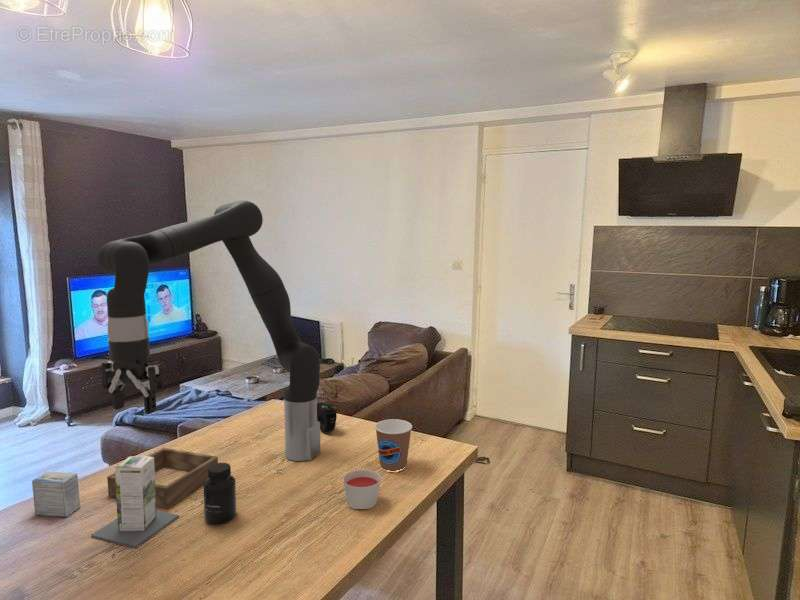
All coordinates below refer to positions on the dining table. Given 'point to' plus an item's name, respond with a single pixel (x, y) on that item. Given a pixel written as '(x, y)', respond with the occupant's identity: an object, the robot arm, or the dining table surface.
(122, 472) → the syrup box
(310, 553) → the dining table surface
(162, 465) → the walnut crate
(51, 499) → the medicine box
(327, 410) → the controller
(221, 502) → the supplement bottle
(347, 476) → the candle
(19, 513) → the dining table surface
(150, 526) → the mat
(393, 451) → the coffee cup
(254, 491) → the dining table surface
